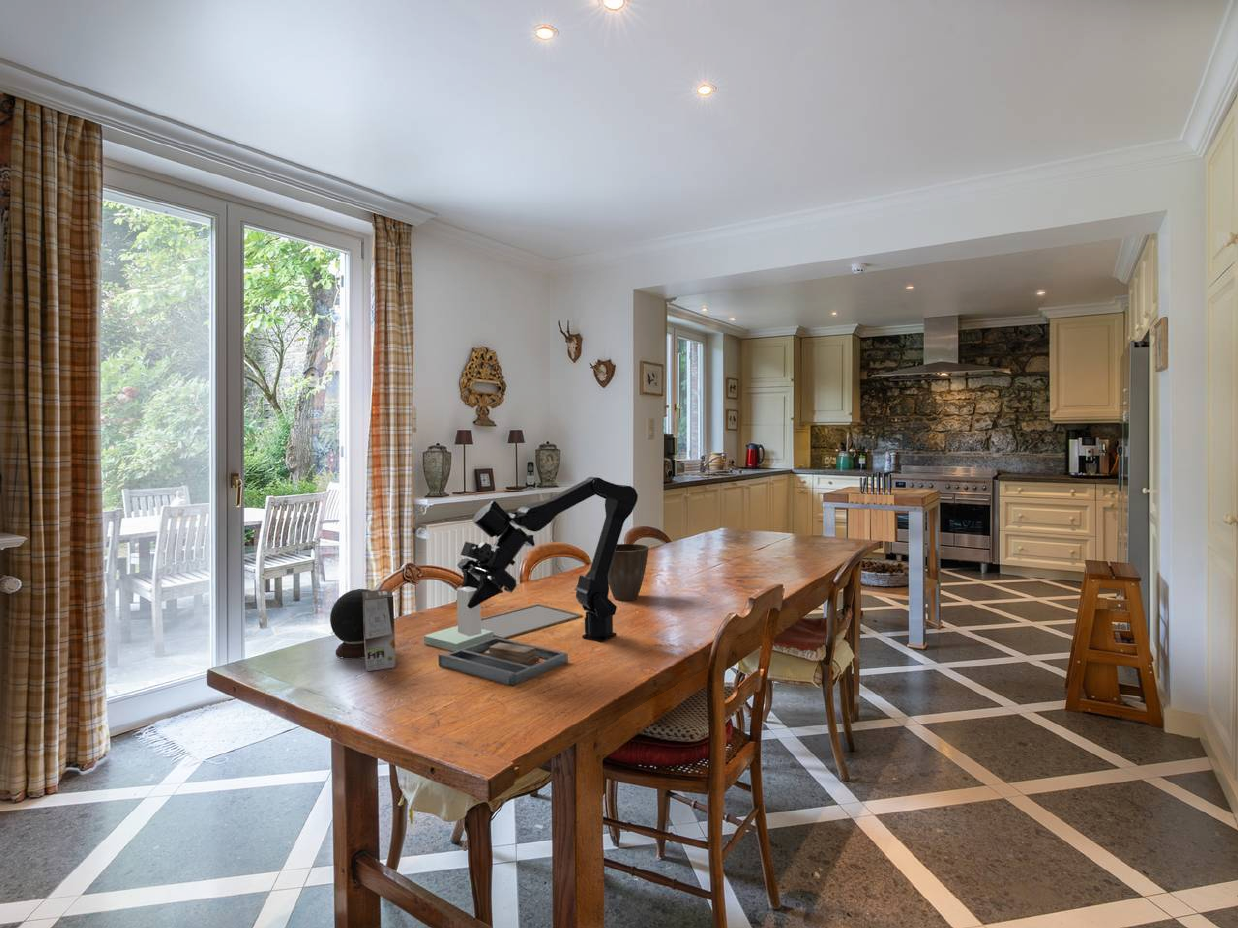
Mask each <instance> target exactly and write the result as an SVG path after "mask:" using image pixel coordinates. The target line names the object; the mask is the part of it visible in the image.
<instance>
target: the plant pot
mask: <svg viewBox="0 0 1238 928" xmlns="http://www.w3.org/2000/svg"><path fill="white" fill-rule="evenodd" d="M648 555H649V546H648V545H644V544H637V543H620V544H619V543H617V547H616V550H615V553H614V557H613V560H612V564H611V567H610V570H609V574H608V582H609V590H610V591H611V592H610V593H611V594H612V597H613V599H614V600H617V601H623V602H624V601H626V602H627V601H633V600H637V599H638V597H639V594H640V592H641V588H642V586H643V585H642V584H643V583H644V582H643V581H644V579H645V575H646V574H645V573H646V568H647V563H648Z"/></svg>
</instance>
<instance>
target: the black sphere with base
mask: <svg viewBox="0 0 1238 928" xmlns="http://www.w3.org/2000/svg"><path fill="white" fill-rule="evenodd" d="M367 591H372V590H370V589H365V588H358V589H357V588H356V589H353V590H350V591H347V592H345V593H344V594H342V595H341V596H339V598H338V599H337V600H336V601H335V602H334V604H333V606H332V608H331V611H330V616H329V622H330V627H331V630H332V633H334V635H335V636H336V637H337V638H338V639H339V640H340V641H342V643H340V644H339V645H338V647H337V648H336V650H335V656H336V655H337V656H339V657H343V658H342V659H345V658H357V659H363V658H362V657H365V649H364V625H363V592H367ZM337 656H336V657H337ZM339 657H338V658H339Z"/></svg>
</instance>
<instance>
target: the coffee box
mask: <svg viewBox="0 0 1238 928" xmlns="http://www.w3.org/2000/svg"><path fill="white" fill-rule="evenodd" d="M394 601H395V600H394V595H393V592H392V590H391V588H388V589H386V588H385V589H376V590H375V589H374V590H371V591H367V592H363V625H364V649H365V658H364V662H365V663H364V664H365V670H366V672H372V671H373V672H374V671H379V670H387V669H394V668H396V643H395V641H396V640H395V639H396V637H395V608H394V607H395V605H394Z"/></svg>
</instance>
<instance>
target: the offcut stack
mask: <svg viewBox="0 0 1238 928" xmlns="http://www.w3.org/2000/svg"><path fill="white" fill-rule="evenodd" d="M483 655H487V656H491V657H495V658H499V659H503V660H507V661H511V662H515V663H519V664H523V665H527V666H532V665H533V664H534V665H536V664H537V663H539V662H540V657H536V652H535V648H532V647H526V646H519V645H513V644H506V643H500V642H499V643H497V644H495V645H492V646H490V647H489V649H488V650H486V651H483ZM538 661H539V662H538ZM536 662H537V663H536ZM535 663H536V664H535Z"/></svg>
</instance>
